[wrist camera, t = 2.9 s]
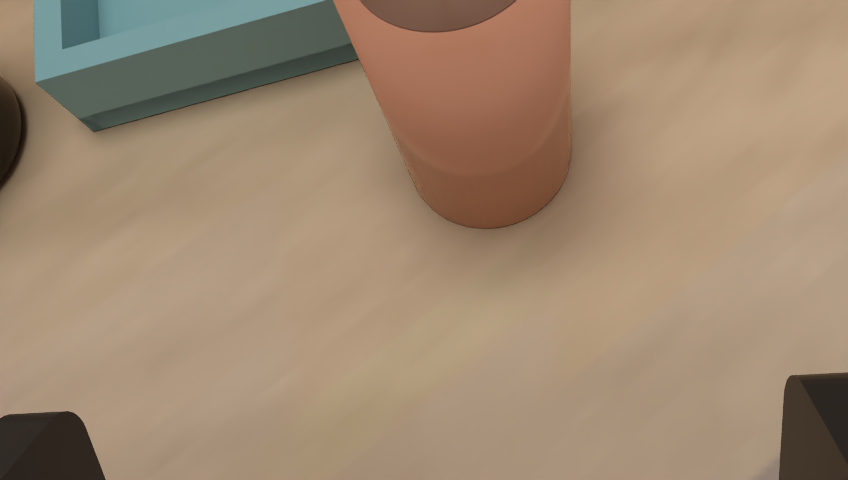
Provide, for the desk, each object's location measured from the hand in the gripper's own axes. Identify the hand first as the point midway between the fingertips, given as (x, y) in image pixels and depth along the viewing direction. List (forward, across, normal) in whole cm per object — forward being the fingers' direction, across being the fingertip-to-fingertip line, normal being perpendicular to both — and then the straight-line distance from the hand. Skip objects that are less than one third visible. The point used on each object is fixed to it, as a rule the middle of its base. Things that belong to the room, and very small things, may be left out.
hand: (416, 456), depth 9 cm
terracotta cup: (+18, 0, +2) cm, 18 cm away
